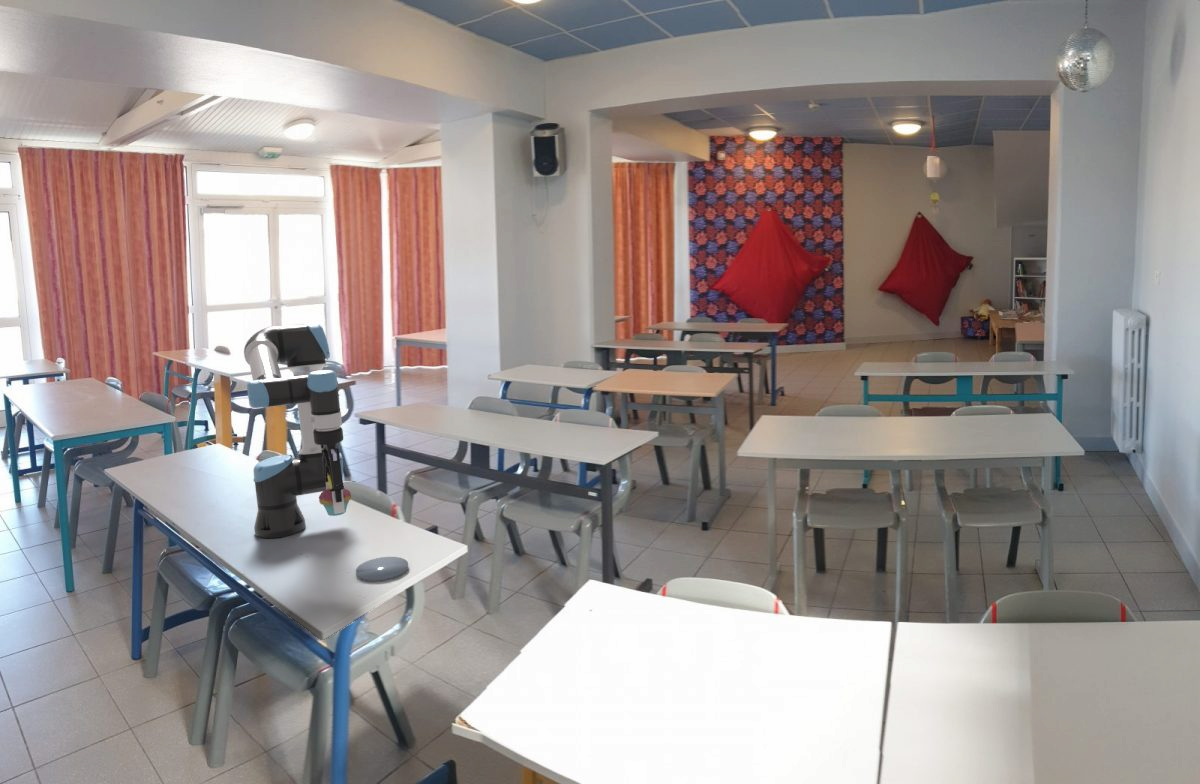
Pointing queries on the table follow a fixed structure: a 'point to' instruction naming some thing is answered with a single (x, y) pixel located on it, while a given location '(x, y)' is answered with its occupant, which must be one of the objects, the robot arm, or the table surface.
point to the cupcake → (327, 499)
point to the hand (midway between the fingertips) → (336, 508)
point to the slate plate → (382, 569)
